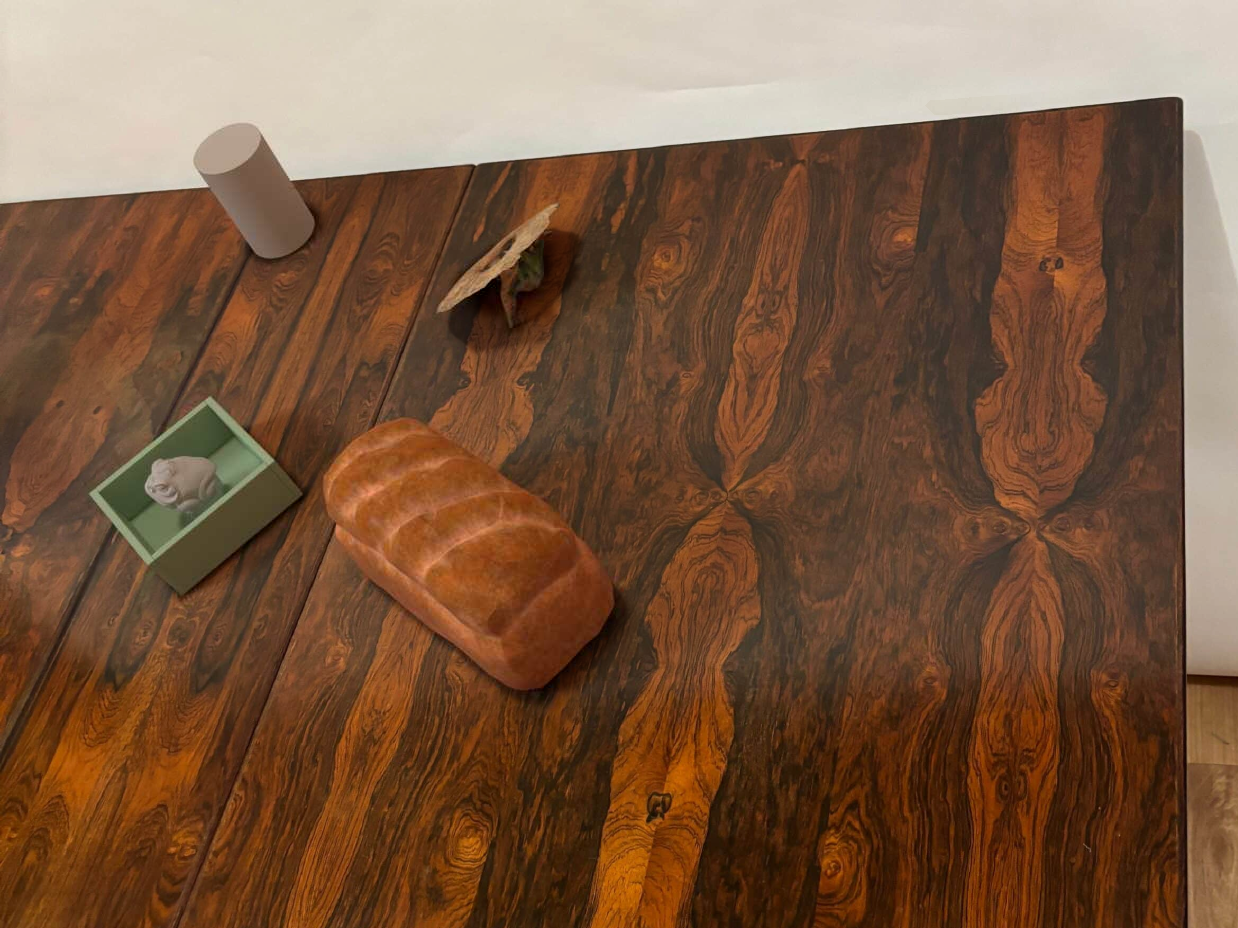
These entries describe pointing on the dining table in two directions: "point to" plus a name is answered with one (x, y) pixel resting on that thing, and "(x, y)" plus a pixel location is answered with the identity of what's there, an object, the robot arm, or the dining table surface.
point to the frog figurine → (185, 484)
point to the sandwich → (507, 266)
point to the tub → (208, 539)
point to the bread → (467, 551)
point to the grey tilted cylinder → (254, 190)
